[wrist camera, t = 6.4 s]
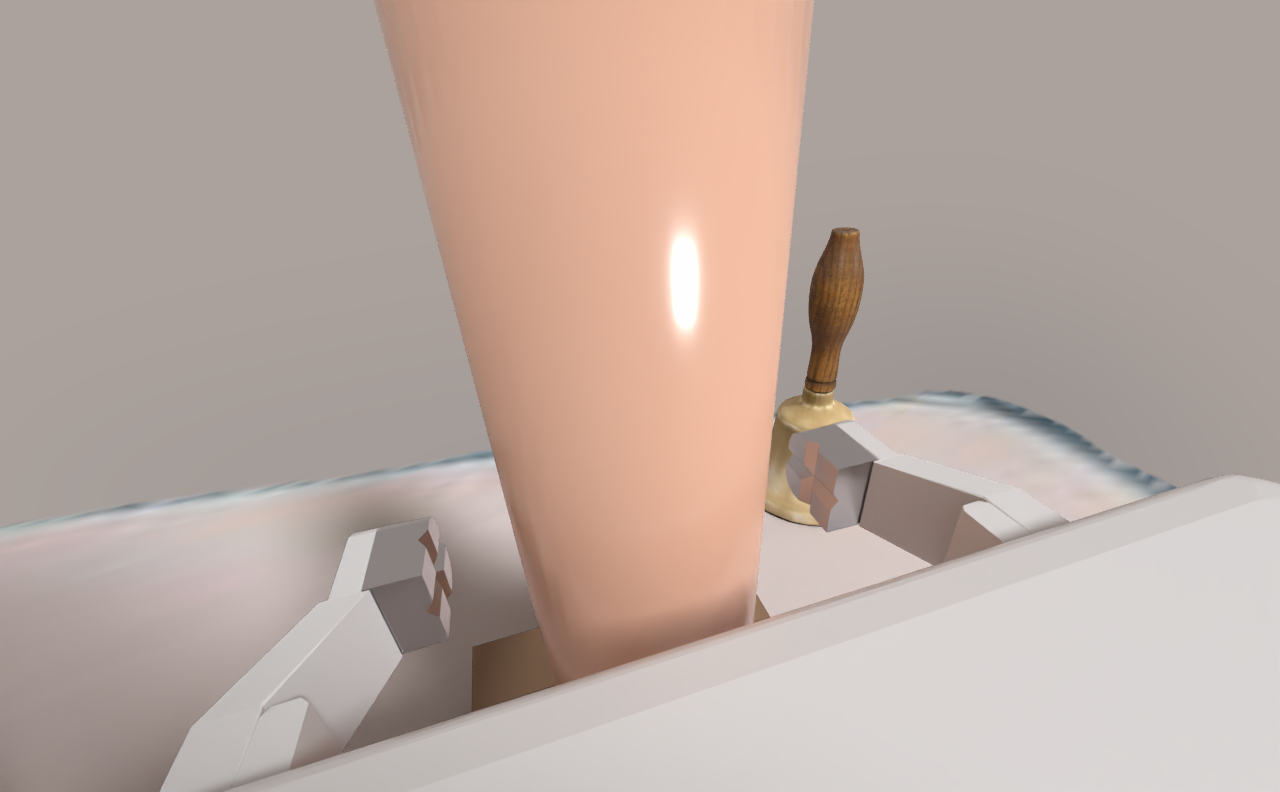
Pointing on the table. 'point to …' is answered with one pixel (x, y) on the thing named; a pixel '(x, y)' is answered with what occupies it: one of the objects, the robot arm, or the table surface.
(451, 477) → the table surface
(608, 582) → the tall peach cylinder
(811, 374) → the hand bell
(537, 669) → the pocket block
